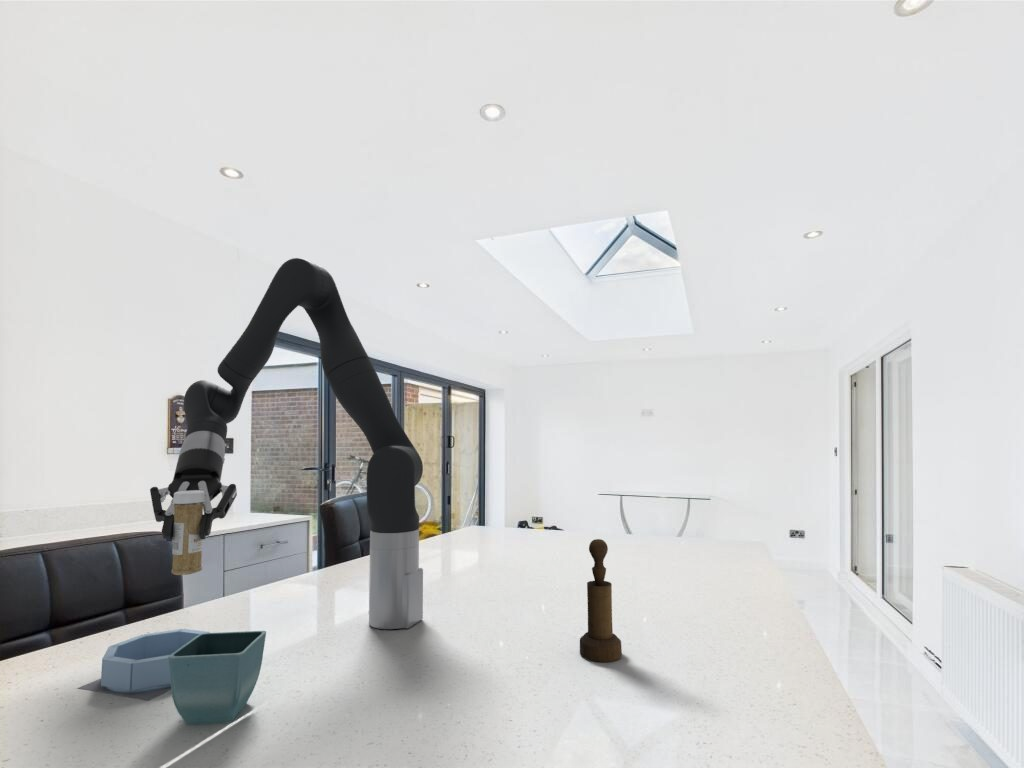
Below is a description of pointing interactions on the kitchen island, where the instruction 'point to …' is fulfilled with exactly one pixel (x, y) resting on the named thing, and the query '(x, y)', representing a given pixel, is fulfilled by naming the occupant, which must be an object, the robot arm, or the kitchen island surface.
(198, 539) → the sprinkles bottle
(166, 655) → the bowl
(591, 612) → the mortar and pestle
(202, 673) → the flower pot
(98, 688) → the mat
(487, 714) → the kitchen island surface
